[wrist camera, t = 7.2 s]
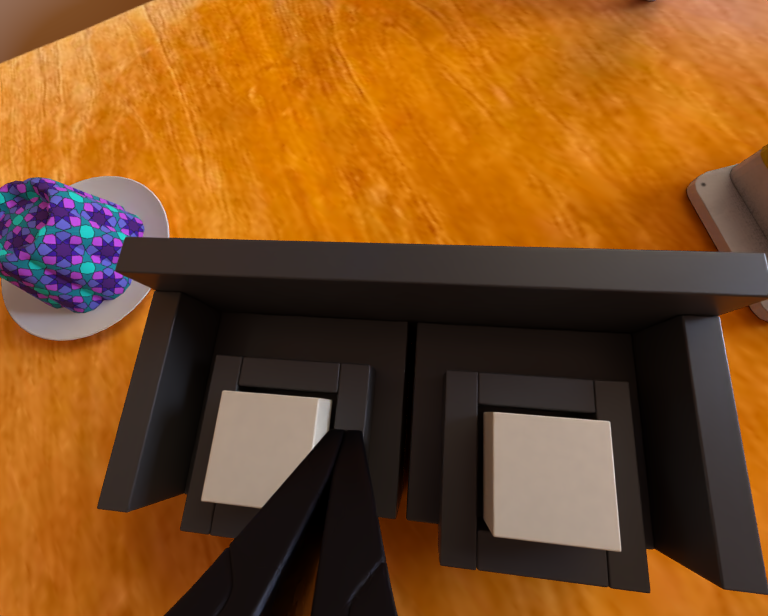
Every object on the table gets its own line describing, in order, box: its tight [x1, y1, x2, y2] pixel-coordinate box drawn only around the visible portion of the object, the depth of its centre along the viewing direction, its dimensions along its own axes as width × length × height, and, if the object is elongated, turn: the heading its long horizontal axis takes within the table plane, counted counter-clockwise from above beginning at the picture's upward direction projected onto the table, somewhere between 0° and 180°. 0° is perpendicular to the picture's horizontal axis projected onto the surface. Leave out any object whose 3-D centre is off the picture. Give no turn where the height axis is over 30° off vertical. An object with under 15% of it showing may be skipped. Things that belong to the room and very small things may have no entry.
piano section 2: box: [180, 312, 412, 538], centre depth 17 cm, size 9×9×7 cm
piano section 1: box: [406, 322, 655, 593], centre depth 16 cm, size 9×9×7 cm
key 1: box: [483, 412, 621, 552], centre depth 12 cm, size 4×4×2 cm
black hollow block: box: [97, 237, 768, 595], centre depth 15 cm, size 9×21×10 cm, turn 85°
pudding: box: [0, 176, 169, 341], centre depth 22 cm, size 12×12×5 cm
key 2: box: [201, 390, 332, 508], centre depth 13 cm, size 4×4×2 cm
